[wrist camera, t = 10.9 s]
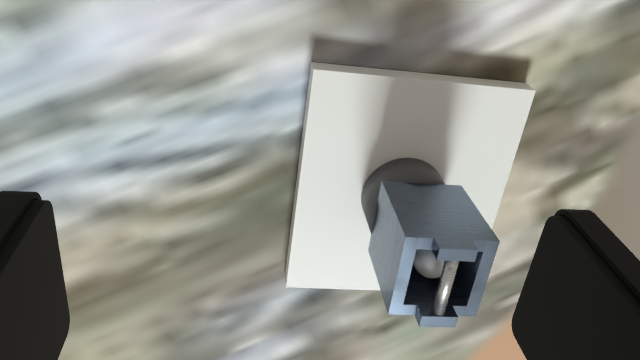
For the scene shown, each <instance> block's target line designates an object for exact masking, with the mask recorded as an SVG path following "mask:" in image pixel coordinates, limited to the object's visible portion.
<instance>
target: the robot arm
mask: <svg viewBox="0 0 640 360" xmlns="http://www.w3.org/2000/svg"><path fill="white" fill-rule="evenodd" d="M69 323H70V315H69V308H68V302H67V295H66V289H65V283H64V276H63V270H62V264H61V257H60V251H59V245H58V238H57V232H56V226H55V219H54V213H53V207H52V204H51V202H50V201H47V200H42V199H41V196H40V195H39V193H37V192H20V191H1V192H0V360H58V357H59V355H60V352H61V350H62V347H63V345H64V342H65V340H66V337H67V334H68V330H69ZM512 331H513V334H514V336H515V339H516V340H517V342H518V344H519V346H520V348H521V350H522V351H523V353H524V355H525V357H526V359H527V360H640V261H639V260H638V259H637V258H636V257H635V256H634V254H633V253H632V252H631V251H630V250H629V249H628V248H627V247H626V246H625V245H624V244H623V243H622V242H621V241H620V240H619V239H618V238H617V237H616V236H615V234H614V233H613V232H612V231H611V230H610V229H609V228H608V227H607V226H606V225H605V224H604V223H603V222H602V221H601V220H600V219H599V218H598V217H597V216H596V215H595V213H593V212H592V211H589V210H570V209H561V210H559V211H557V212H556V214H555V215H554V216H551V217H549V218H548V219H547V221H546V223H545V226H544V229H543V232H542V234H541V237H540V240H539V243H538V246H537V249H536V252H535V254H534V257H533V260H532V263H531V266H530V269H529V272H528V274H527V277H526V280H525V283H524V286H523V289H522V292H521V294H520V297H519V300H518V303H517V306H516V309H515V312H514V314H513V318H512Z"/></svg>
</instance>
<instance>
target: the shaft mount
mask: <svg viewBox="0 0 640 360" xmlns="http://www.w3.org/2000/svg"><path fill="white" fill-rule="evenodd" d="M535 91H536V90H534V89H533V88H532V87H530V86H529V85H528V84H526V83H521V82H511V81H500V80H490V79H480V78H470V77H459V76H449V75H439V74H429V73H418V72H408V71H398V70H387V69H377V68H367V67H357V66H346V65H336V64H326V63H316V62H311V68H310V76H309V84H308V92H307V100H306V108H305V116H304V124H303V132H302V140H301V148H300V156H299V164H298V173H297V181H296V189H295V197H294V205H293V213H292V221H291V229H290V237H289V245H288V253H287V261H286V269H285V281H286V287H297V288H326V289H355V290H380V287H379V283H378V280H377V277H376V274H375V271H374V267H373V264H372V261H371V258H370V255H369V252H368V248H369V243H370V238H371V233H372V228H373V222H374V217H375V212H376V207H377V202H378V197H379V191H380V186H381V181H392V182H410V183H427V184H444V185H461V186H462V187H463V188H464V190H465V191H466V193H467V194H468V196H469V197H470V199H471V200H472V202H473V203H474V205H475V206H476V207H477V209H478V210H479V212H480V213H481V215H482V216H483V218H484V219H485V221H486V222H487V223H488V225H489V226H490V228H491V229H492V227H493V224H494V221H495V218H496V214H497V211H498V208H499V205H500V202H501V199H502V195H503V192H504V189H505V186H506V183H507V180H508V177H509V173H510V170H511V167H512V164H513V161H514V158H515V154H516V151H517V148H518V145H519V142H520V139H521V136H522V132H523V129H524V126H525V123H526V120H527V117H528V114H529V110H530V107H531V104H532V101H533V98H534V95H535ZM444 262H445V261H441V260H436V258H435V256H434V254H433V252H432V250H422V249H416V253H415V258H414V262H413V265H414V267H415V269H416V270H417V271H418V272H419V273H420V274H421V275H423V276H425V277H427V278H439V277H440V276H441V273H442V269H443V265H444Z"/></svg>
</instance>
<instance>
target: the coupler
mask: <svg viewBox="0 0 640 360" xmlns="http://www.w3.org/2000/svg"><path fill="white" fill-rule="evenodd" d="M499 242H500V241H499V239H498V238H497V237H496V235H495V234H494V232H493V231H492V229H491V228H490V226H489V225H488V223H487V222H486V221H485V219H484V218H483V216H482V215H481V213H480V212H479V210H478V209H477V207H476V206H475V205H474V203H473V202H472V200H471V199H470V197H469V196H468V194H467V193H466V191H465V190H464V188H463V187H462V186H461V185H444V184H427V183H410V182H392V181H381V186H380V191H379V197H378V202H377V207H376V212H375V217H374V222H373V228H372V233H371V238H370V243H369V248H368V252H369V255H370V258H371V261H372V264H373V267H374V271H375V274H376V277H377V280H378V283H379V287H380V290H381V293H382V296H383V299H384V302H385V306H386V309H387V312H388V314H391V315H415V317H416V319H417V322H418V325H419V327H455V326H456V323H457V319H458V316H476V314H477V311H478V308H479V304H480V301H481V298H482V295H483V292H484V289H485V286H486V283H487V279H488V276H489V273H490V270H491V267H492V264H493V261H494V258H495V254H496V251H497V248H498V245H499ZM416 249H422V250H432V252H433V254H434V256H435V258H436V260H441V261H445V262H444V265H443V269H442V273H441V276H440V277H439V278H427V277H425V276H423V275H421V274H420V273H419V272H418V271H417V270H416V269H415V267H414V265H413V262H414V258H415V253H416Z"/></svg>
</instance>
